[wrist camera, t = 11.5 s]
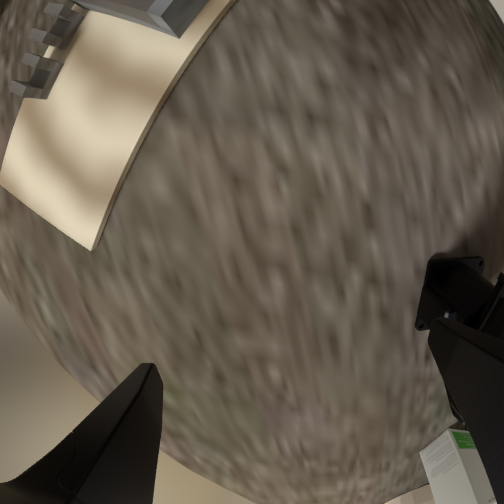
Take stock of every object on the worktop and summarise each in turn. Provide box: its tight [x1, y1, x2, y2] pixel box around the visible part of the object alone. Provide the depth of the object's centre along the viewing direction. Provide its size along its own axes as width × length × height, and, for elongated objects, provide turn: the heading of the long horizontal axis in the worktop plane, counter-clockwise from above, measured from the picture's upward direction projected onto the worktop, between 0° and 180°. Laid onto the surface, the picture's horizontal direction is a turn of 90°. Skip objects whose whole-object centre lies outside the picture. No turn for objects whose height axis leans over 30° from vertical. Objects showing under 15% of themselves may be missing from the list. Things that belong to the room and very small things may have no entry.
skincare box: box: [419, 428, 497, 504], centre depth 23 cm, size 8×7×16 cm
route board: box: [0, 0, 237, 251], centre depth 14 cm, size 26×12×5 cm, turn 148°
